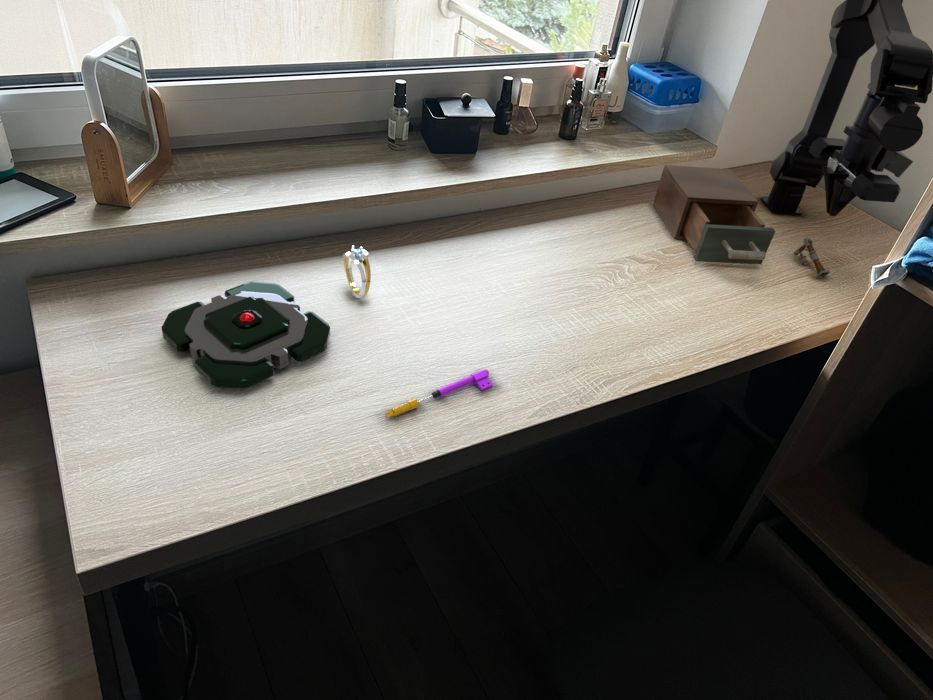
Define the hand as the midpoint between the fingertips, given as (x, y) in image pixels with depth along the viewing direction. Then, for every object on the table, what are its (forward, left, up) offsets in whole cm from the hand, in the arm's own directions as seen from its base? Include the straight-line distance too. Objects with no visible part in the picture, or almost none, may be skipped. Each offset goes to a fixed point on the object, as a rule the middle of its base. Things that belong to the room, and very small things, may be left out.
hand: (831, 214), depth 125 cm
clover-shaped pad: (+26, -95, -11) cm, 99 cm away
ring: (+14, -81, -11) cm, 83 cm away
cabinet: (-15, -16, -11) cm, 24 cm away
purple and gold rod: (+37, -69, -11) cm, 79 cm away
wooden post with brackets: (0, 0, -11) cm, 11 cm away
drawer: (-3, -16, -10) cm, 19 cm away
